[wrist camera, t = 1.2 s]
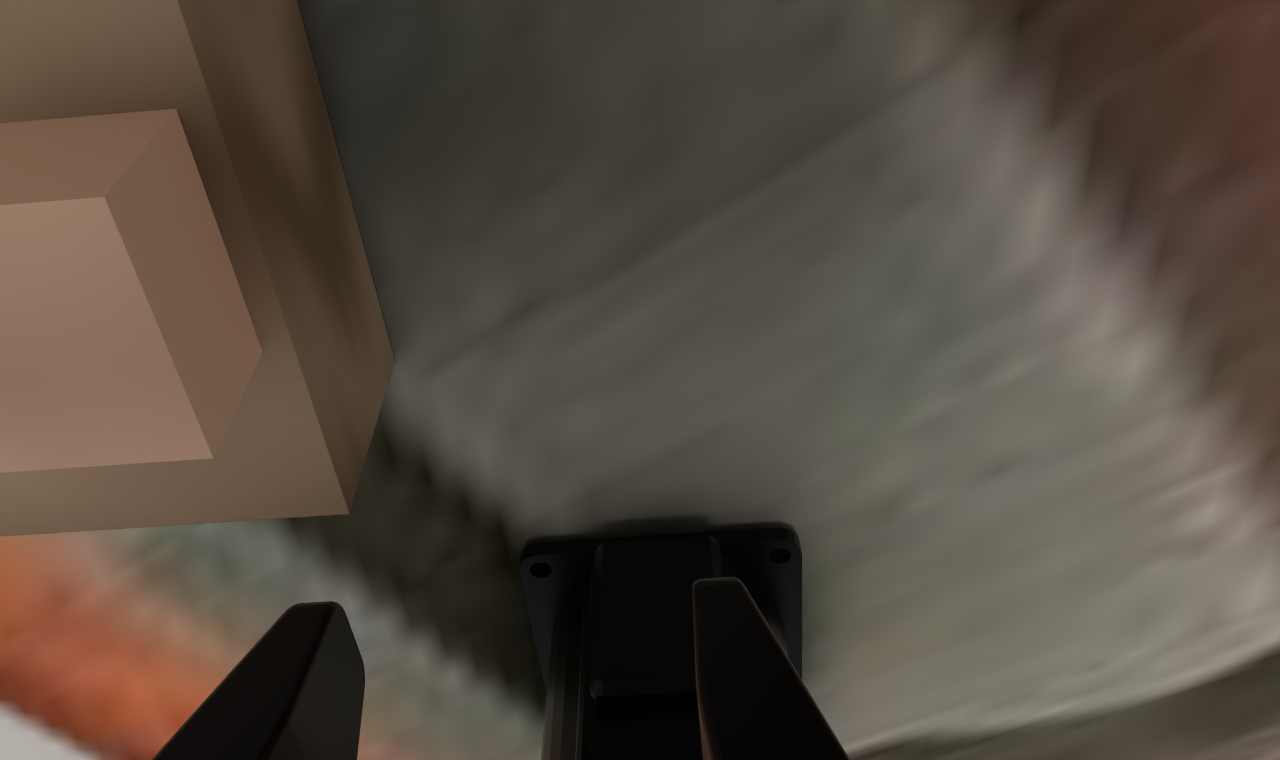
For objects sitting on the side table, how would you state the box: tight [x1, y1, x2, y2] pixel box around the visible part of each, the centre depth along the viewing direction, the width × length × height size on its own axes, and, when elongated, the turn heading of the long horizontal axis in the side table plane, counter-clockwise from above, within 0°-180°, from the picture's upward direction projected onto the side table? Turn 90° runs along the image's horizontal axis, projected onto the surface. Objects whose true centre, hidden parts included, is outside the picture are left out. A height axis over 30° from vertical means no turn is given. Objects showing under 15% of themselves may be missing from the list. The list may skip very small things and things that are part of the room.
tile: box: [0, 109, 263, 473], centre depth 15 cm, size 4×4×2 cm
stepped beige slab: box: [0, 0, 395, 536], centre depth 18 cm, size 11×9×4 cm
